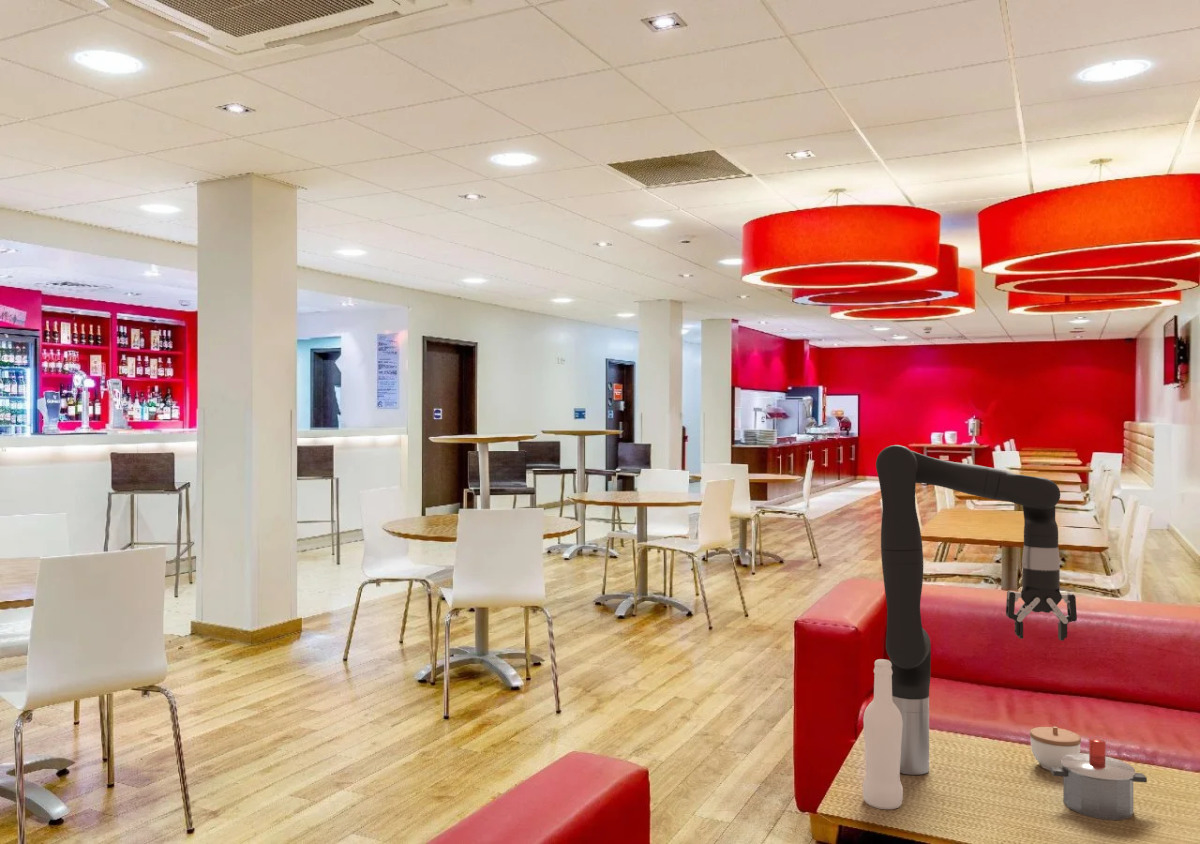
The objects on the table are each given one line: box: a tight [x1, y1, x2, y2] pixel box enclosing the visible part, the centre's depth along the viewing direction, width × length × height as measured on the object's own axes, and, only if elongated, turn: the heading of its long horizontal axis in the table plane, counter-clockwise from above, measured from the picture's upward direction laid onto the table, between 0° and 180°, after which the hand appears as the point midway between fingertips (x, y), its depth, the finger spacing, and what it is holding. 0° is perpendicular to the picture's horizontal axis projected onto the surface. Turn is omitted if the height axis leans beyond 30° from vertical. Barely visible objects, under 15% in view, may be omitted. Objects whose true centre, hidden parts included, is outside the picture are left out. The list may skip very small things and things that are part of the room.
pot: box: [1049, 767, 1148, 821], centre depth 192 cm, size 18×12×8 cm
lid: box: [1061, 738, 1136, 781], centre depth 192 cm, size 14×14×7 cm
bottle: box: [862, 658, 904, 810], centre depth 193 cm, size 8×8×30 cm
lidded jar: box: [1029, 726, 1082, 771], centre depth 214 cm, size 11×11×9 cm
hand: (1040, 638), depth 205 cm, fingers open, 8 cm apart
